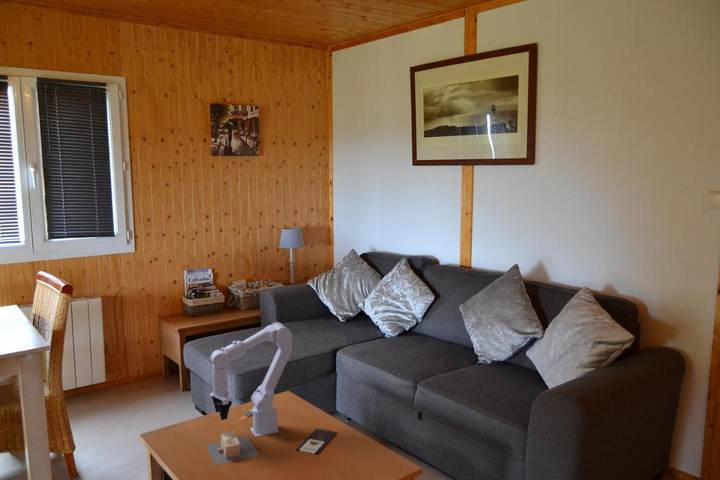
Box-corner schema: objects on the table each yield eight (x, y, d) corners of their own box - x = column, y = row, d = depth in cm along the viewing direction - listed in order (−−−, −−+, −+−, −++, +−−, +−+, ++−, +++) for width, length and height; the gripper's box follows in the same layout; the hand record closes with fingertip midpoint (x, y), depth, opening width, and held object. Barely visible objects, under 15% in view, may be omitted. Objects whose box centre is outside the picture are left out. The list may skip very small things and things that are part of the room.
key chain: (252, 410, 249) (252, 407, 249) (259, 412, 247) (259, 409, 247) (232, 422, 237) (232, 419, 237) (239, 424, 236) (239, 421, 236)
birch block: (234, 430, 214) (240, 444, 208) (233, 441, 216) (239, 455, 209) (220, 433, 212) (226, 447, 205) (220, 444, 214) (226, 458, 207)
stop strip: (239, 446, 215) (238, 443, 215) (239, 448, 215) (239, 445, 214) (217, 451, 212) (217, 448, 212) (218, 453, 211) (218, 449, 211)
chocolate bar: (337, 432, 227) (317, 453, 210) (337, 434, 227) (317, 455, 210) (316, 428, 230) (295, 449, 213) (316, 430, 230) (295, 451, 214)
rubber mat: (246, 437, 224) (246, 436, 224) (259, 455, 210) (259, 454, 210) (205, 446, 216) (205, 445, 216) (215, 466, 202) (215, 465, 202)
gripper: (205, 377, 223) (206, 410, 225) (214, 390, 210) (215, 425, 212) (223, 374, 226) (224, 406, 228) (233, 386, 214) (234, 421, 216)
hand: (221, 415), depth 220 cm, fingers open, 7 cm apart
